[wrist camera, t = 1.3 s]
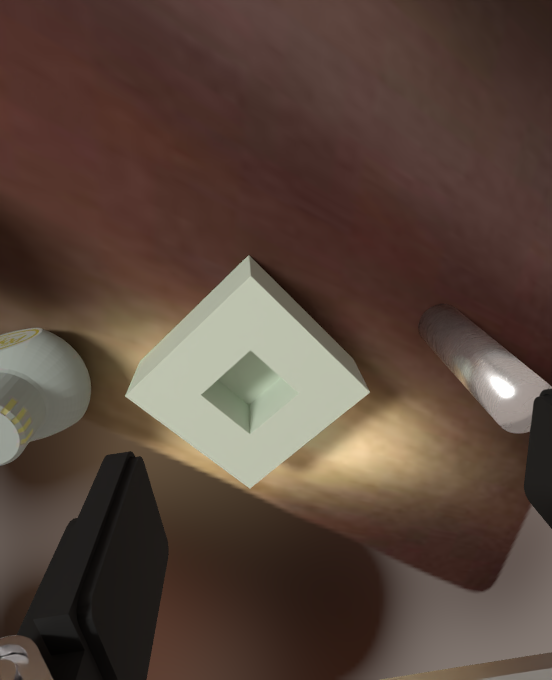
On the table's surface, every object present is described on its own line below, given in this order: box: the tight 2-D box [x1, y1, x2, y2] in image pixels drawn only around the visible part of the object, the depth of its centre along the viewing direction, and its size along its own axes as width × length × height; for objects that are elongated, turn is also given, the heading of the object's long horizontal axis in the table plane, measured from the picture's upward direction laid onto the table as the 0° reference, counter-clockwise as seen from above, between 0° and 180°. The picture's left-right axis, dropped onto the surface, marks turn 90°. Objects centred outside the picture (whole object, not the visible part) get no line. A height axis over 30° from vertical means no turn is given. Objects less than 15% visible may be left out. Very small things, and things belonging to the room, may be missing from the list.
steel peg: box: [418, 304, 552, 433], centre depth 36 cm, size 4×4×14 cm
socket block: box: [125, 256, 370, 488], centre depth 39 cm, size 14×14×6 cm
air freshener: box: [0, 328, 91, 465], centre depth 36 cm, size 11×8×10 cm
